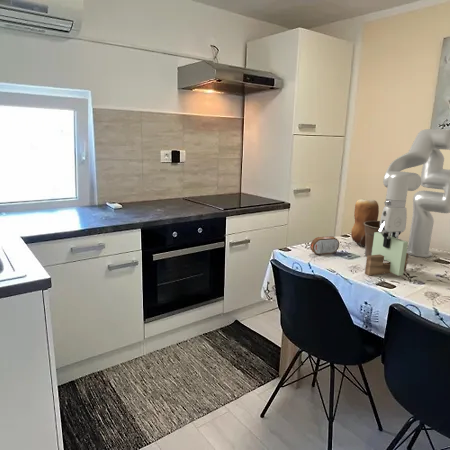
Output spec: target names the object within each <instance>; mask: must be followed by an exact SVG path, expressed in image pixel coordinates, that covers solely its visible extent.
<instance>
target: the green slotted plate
mask: <svg viewBox="0 0 450 450" xmlns="http://www.w3.org/2000/svg"><path fill="white" fill-rule="evenodd" d="M390 239H391V241H390V248H386V247H383V241H384V237H383V235H382V234H380V233H379V232H374V240H373V247H372V255H379V254H380V255H383V256H384V261H387V262H391V265H390V272H391V273H390V274H394V275H396V276H403V275H404V273H405V271H404V266H405V259H406V253H407V248H408V243H409V241H406V240H403V239H401V238H399V237H398V238H395V237H392V236H390Z"/></svg>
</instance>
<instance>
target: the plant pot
mask: <svg viewBox="0 0 450 450" xmlns="http://www.w3.org/2000/svg"><path fill="white" fill-rule="evenodd" d="M364 225H365V246H364V255H365V257H367V256H369V255H372V247H373V240H374V232H378V231H379V229H380V220H377V221H366V222H364ZM387 234H388V233H387ZM390 236H391V235H390Z"/></svg>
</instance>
